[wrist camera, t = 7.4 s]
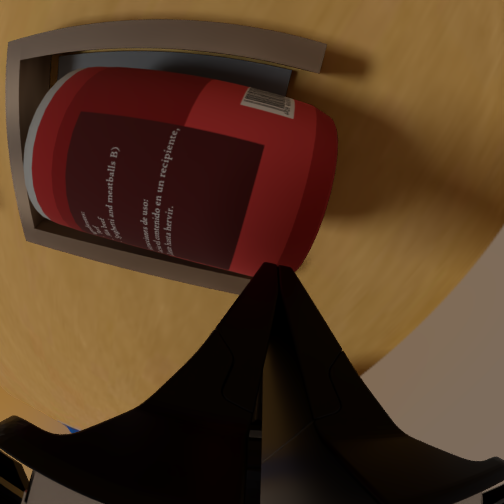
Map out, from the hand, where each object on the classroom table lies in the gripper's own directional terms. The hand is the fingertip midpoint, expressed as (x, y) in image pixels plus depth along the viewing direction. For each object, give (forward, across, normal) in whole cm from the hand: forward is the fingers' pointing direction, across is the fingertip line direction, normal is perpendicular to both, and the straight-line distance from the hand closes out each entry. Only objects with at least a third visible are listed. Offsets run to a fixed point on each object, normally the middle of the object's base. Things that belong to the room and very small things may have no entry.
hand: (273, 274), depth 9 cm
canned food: (+5, -1, -1) cm, 5 cm away
